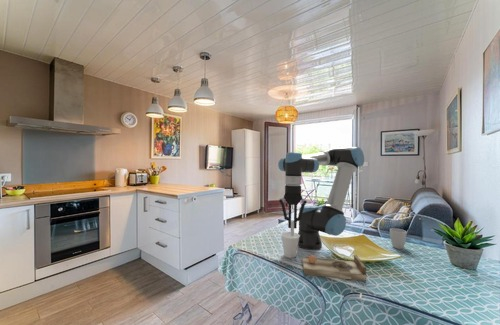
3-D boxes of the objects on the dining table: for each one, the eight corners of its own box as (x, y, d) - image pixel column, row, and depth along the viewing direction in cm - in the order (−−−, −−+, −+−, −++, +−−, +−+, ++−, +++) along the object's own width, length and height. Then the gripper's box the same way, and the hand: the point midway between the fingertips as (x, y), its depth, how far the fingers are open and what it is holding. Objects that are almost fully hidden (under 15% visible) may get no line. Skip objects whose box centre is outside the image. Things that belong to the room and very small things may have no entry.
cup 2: (409, 248, 120) (409, 231, 121) (400, 250, 117) (400, 233, 118) (395, 243, 128) (395, 227, 128) (386, 245, 125) (386, 228, 125)
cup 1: (300, 253, 112) (300, 232, 113) (299, 261, 103) (299, 239, 103) (281, 250, 115) (281, 231, 115) (279, 258, 106) (279, 237, 106)
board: (302, 261, 102) (302, 250, 103) (356, 267, 98) (356, 255, 98) (304, 274, 91) (304, 261, 91) (365, 281, 86) (366, 267, 86)
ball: (307, 260, 98) (307, 253, 98) (315, 261, 97) (315, 254, 97) (308, 264, 94) (308, 256, 94) (316, 265, 94) (316, 257, 94)
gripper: (278, 185, 95) (277, 236, 95) (308, 186, 93) (307, 239, 93) (279, 183, 103) (278, 231, 102) (306, 184, 100) (305, 233, 100)
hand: (292, 234), depth 98 cm, fingers closed
